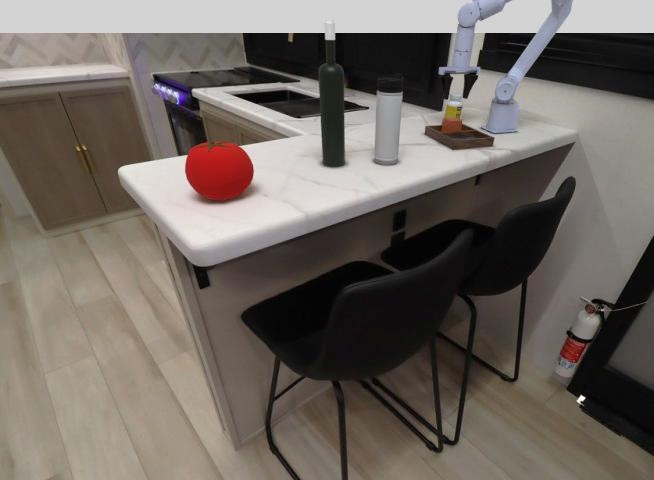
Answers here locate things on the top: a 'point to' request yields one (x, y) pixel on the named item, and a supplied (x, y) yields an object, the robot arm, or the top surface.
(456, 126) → the terracotta block
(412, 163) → the top surface
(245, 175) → the tomato
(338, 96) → the wine bottle
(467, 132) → the sorting tray
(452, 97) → the supplement bottle
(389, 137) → the travel mug
